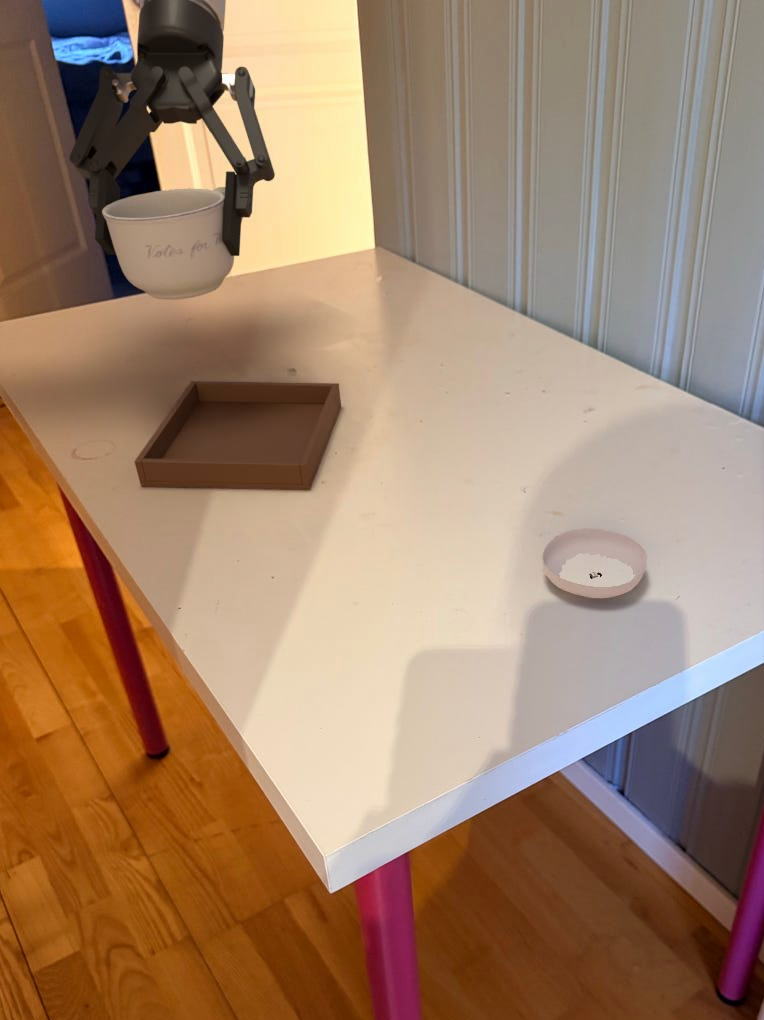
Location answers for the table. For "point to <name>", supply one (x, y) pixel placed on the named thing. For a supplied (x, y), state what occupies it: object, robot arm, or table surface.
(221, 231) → the teacup
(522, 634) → the table surface
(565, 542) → the shallow pink dish
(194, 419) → the tray
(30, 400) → the table surface
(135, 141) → the robot arm
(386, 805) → the table surface
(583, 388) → the table surface
